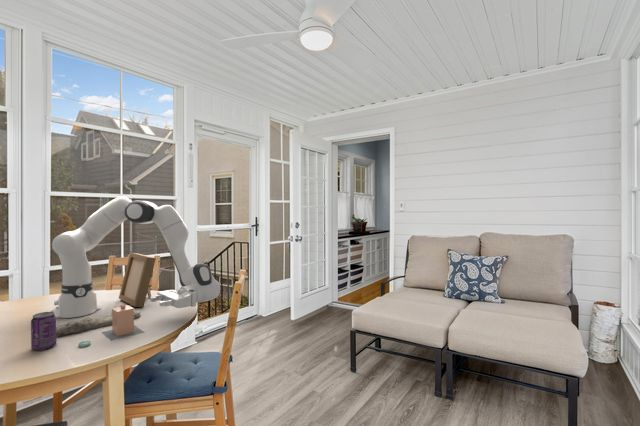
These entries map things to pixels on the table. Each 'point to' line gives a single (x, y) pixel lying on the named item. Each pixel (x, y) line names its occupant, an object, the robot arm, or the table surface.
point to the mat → (112, 336)
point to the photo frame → (137, 279)
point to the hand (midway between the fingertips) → (155, 302)
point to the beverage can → (43, 330)
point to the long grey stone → (86, 325)
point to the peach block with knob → (122, 320)
